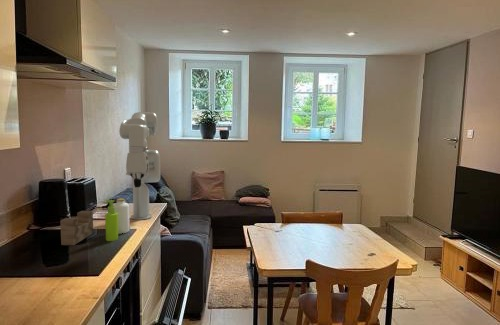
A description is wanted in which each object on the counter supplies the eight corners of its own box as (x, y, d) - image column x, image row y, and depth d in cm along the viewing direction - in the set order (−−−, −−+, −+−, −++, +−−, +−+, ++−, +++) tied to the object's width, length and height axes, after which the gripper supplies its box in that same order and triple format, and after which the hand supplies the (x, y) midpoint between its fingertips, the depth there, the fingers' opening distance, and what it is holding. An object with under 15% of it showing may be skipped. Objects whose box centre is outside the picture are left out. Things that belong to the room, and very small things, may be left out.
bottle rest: (82, 232, 192) (81, 210, 191) (93, 233, 192) (92, 211, 191) (61, 245, 172) (60, 220, 171) (73, 245, 172) (72, 220, 171)
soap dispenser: (101, 240, 180) (100, 200, 178) (113, 236, 186) (112, 198, 184) (109, 242, 177) (108, 202, 175) (120, 238, 183) (119, 200, 181)
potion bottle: (132, 230, 198) (131, 198, 196) (125, 234, 190) (124, 201, 188) (117, 229, 199) (116, 197, 197) (110, 234, 191) (109, 200, 189)
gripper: (154, 149, 180) (155, 186, 182) (124, 149, 180) (125, 185, 182) (149, 150, 172) (150, 188, 174) (118, 150, 173) (119, 188, 175)
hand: (137, 186), depth 178 cm, fingers closed
